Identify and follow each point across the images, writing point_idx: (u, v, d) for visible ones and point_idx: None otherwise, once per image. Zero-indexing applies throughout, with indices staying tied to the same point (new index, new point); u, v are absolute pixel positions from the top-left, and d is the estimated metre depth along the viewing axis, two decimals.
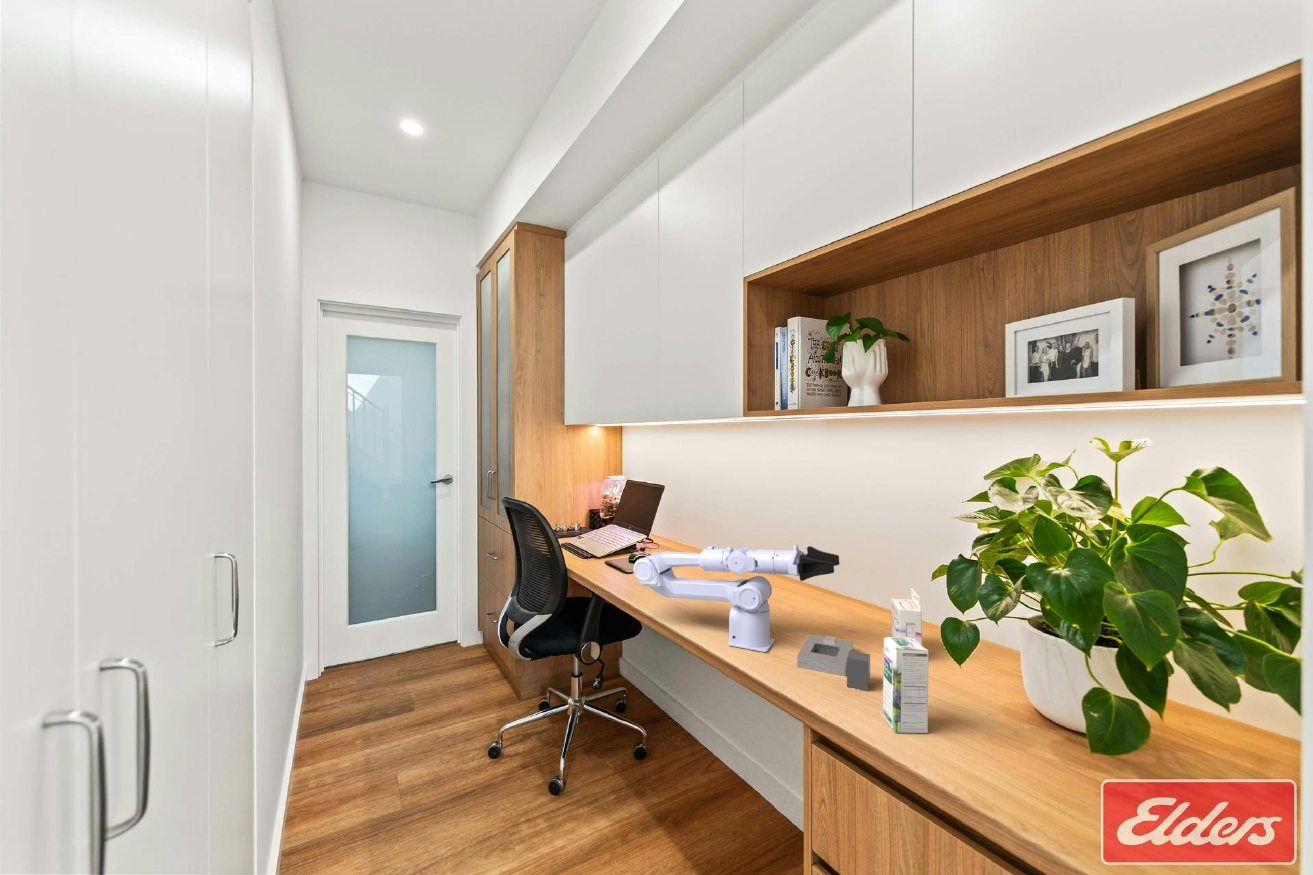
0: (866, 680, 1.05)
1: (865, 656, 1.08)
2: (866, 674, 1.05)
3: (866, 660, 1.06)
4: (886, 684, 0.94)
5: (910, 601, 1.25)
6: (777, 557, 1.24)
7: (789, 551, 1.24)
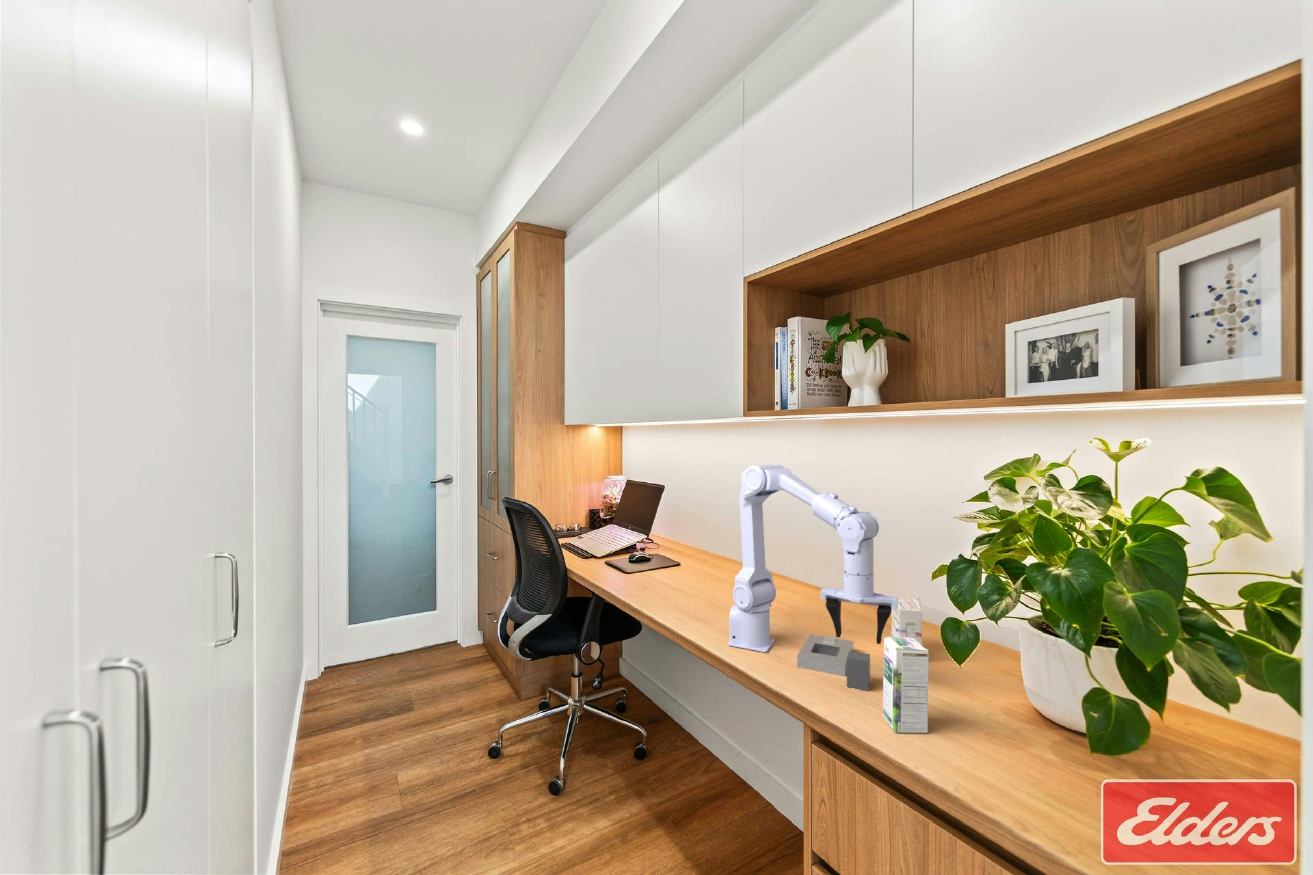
0: (866, 680, 1.05)
1: (865, 656, 1.08)
2: (866, 674, 1.05)
3: (866, 660, 1.06)
4: (886, 684, 0.94)
5: (910, 601, 1.25)
6: (845, 576, 1.08)
7: (853, 591, 1.06)
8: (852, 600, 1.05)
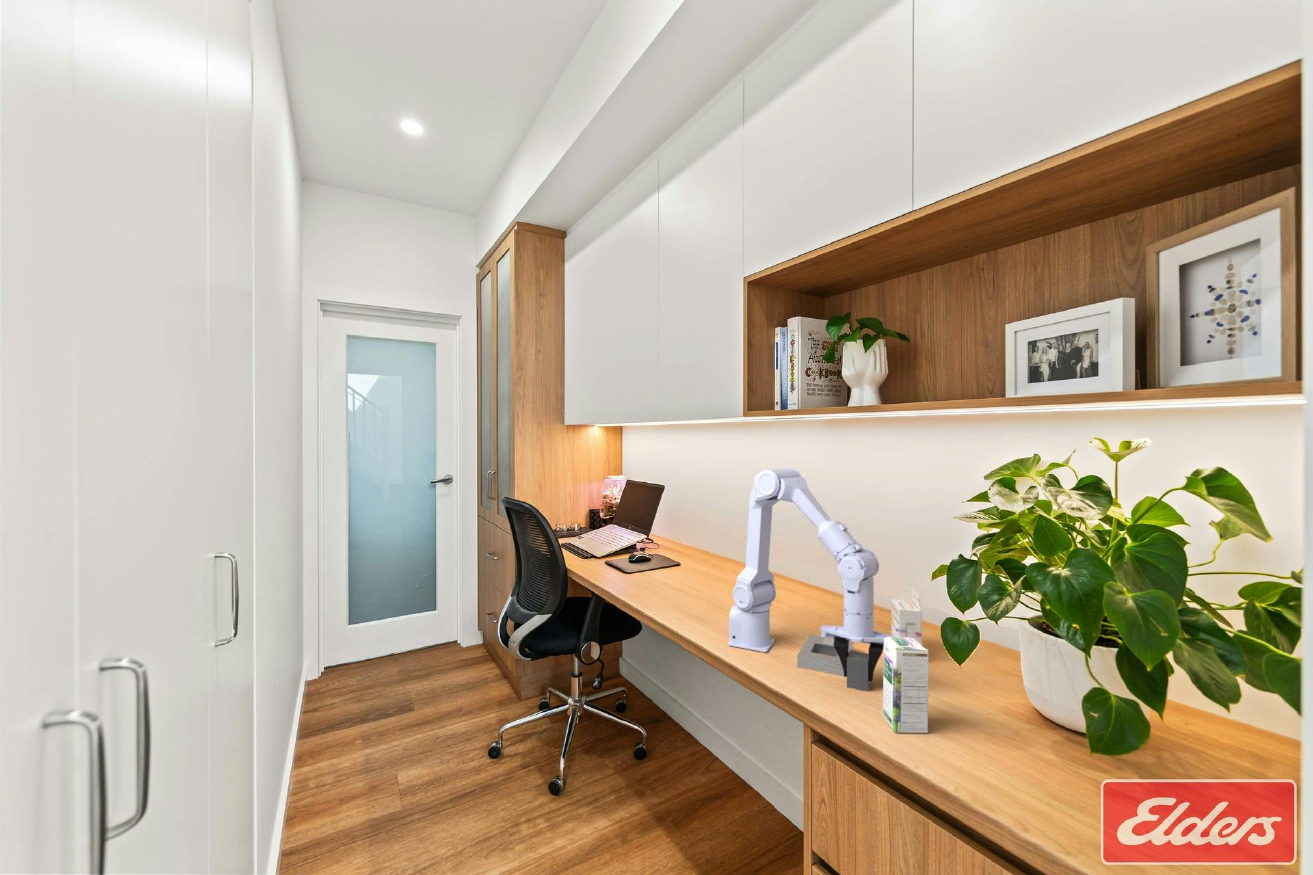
0: (866, 680, 1.05)
1: (865, 656, 1.08)
2: (866, 674, 1.05)
3: (866, 660, 1.06)
4: (886, 684, 0.94)
5: (910, 601, 1.25)
6: (845, 615, 1.08)
7: (853, 630, 1.06)
8: (852, 640, 1.05)
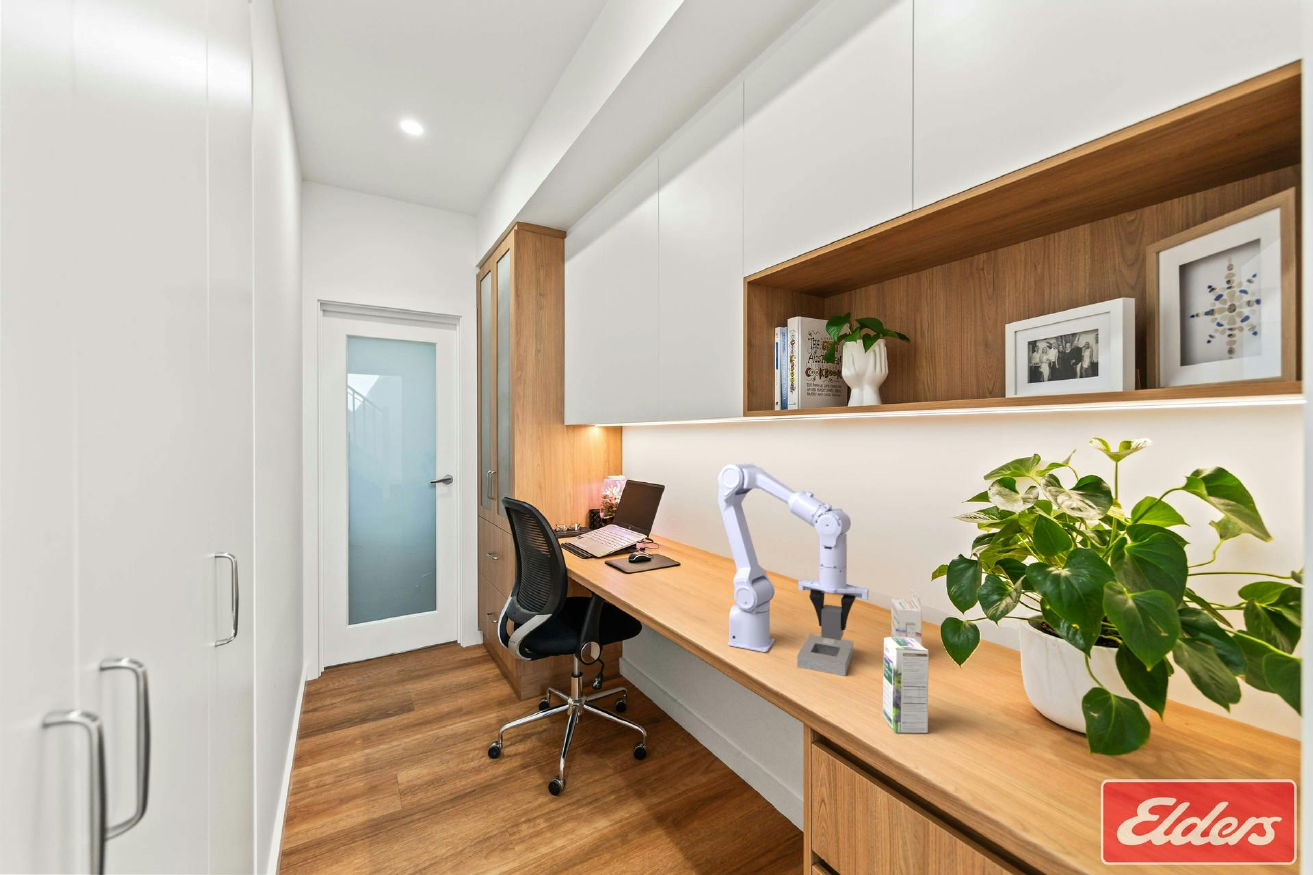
0: (839, 630, 1.14)
1: (839, 609, 1.16)
2: (839, 624, 1.14)
3: (839, 611, 1.14)
4: (886, 684, 0.94)
5: (910, 601, 1.25)
6: (820, 569, 1.16)
7: (827, 582, 1.15)
8: (826, 590, 1.13)
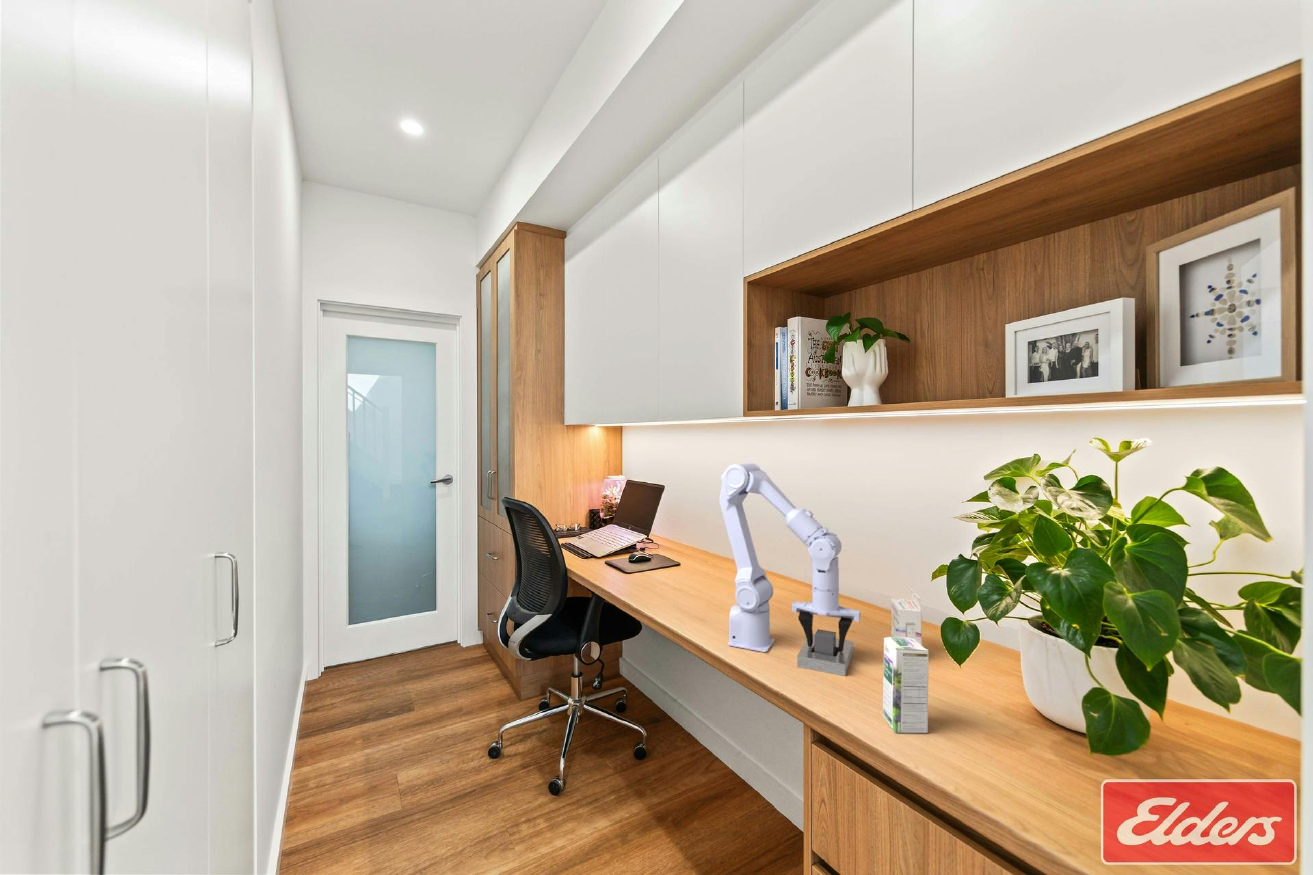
0: (831, 655, 1.17)
1: (831, 634, 1.19)
2: (831, 649, 1.17)
3: (831, 637, 1.17)
4: (886, 684, 0.94)
5: (910, 601, 1.25)
6: (813, 591, 1.19)
7: (819, 605, 1.18)
8: (819, 613, 1.16)
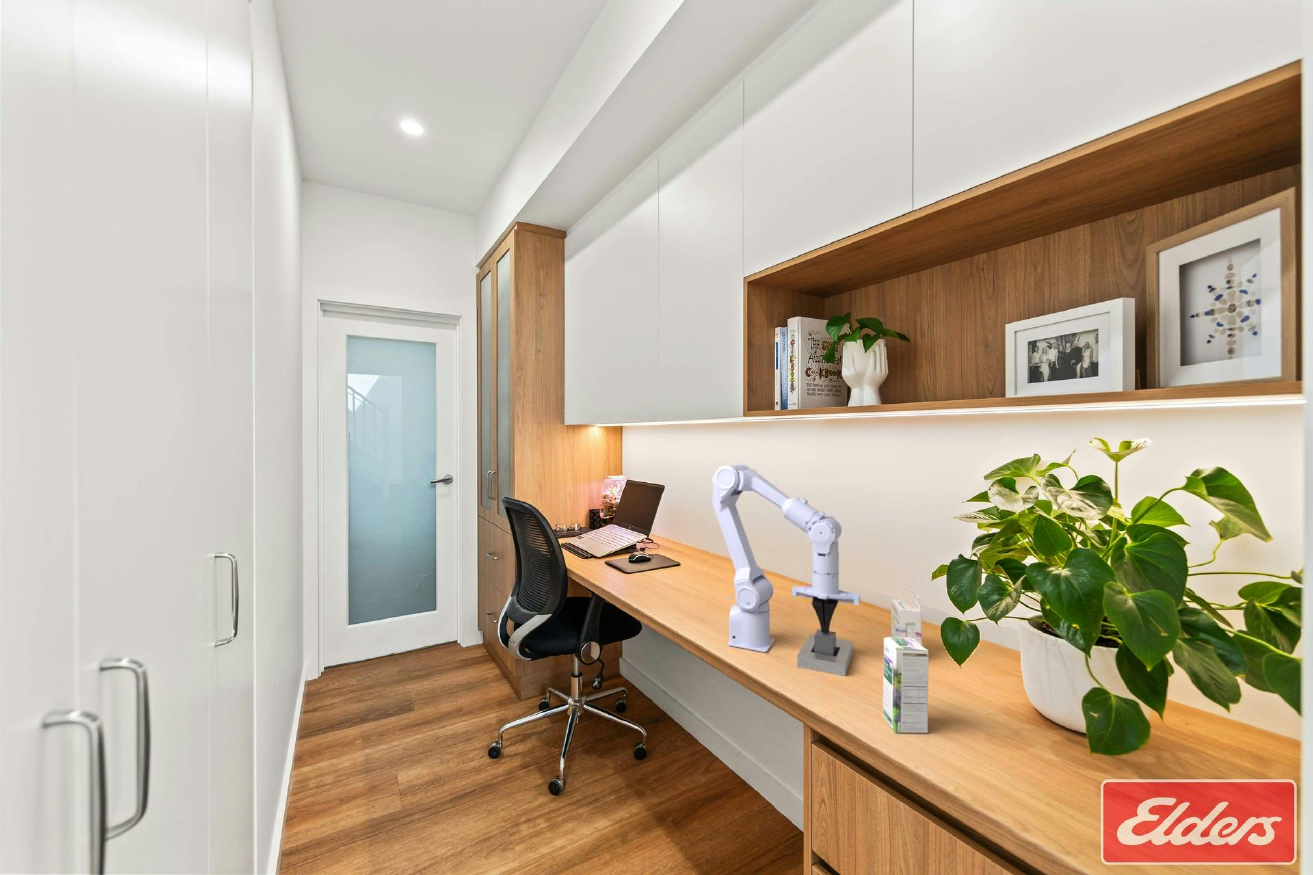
0: (831, 655, 1.17)
1: (831, 634, 1.19)
2: (831, 649, 1.17)
3: (831, 637, 1.17)
4: (886, 684, 0.94)
5: (910, 601, 1.25)
6: (813, 575, 1.19)
7: (819, 588, 1.18)
8: (819, 596, 1.16)
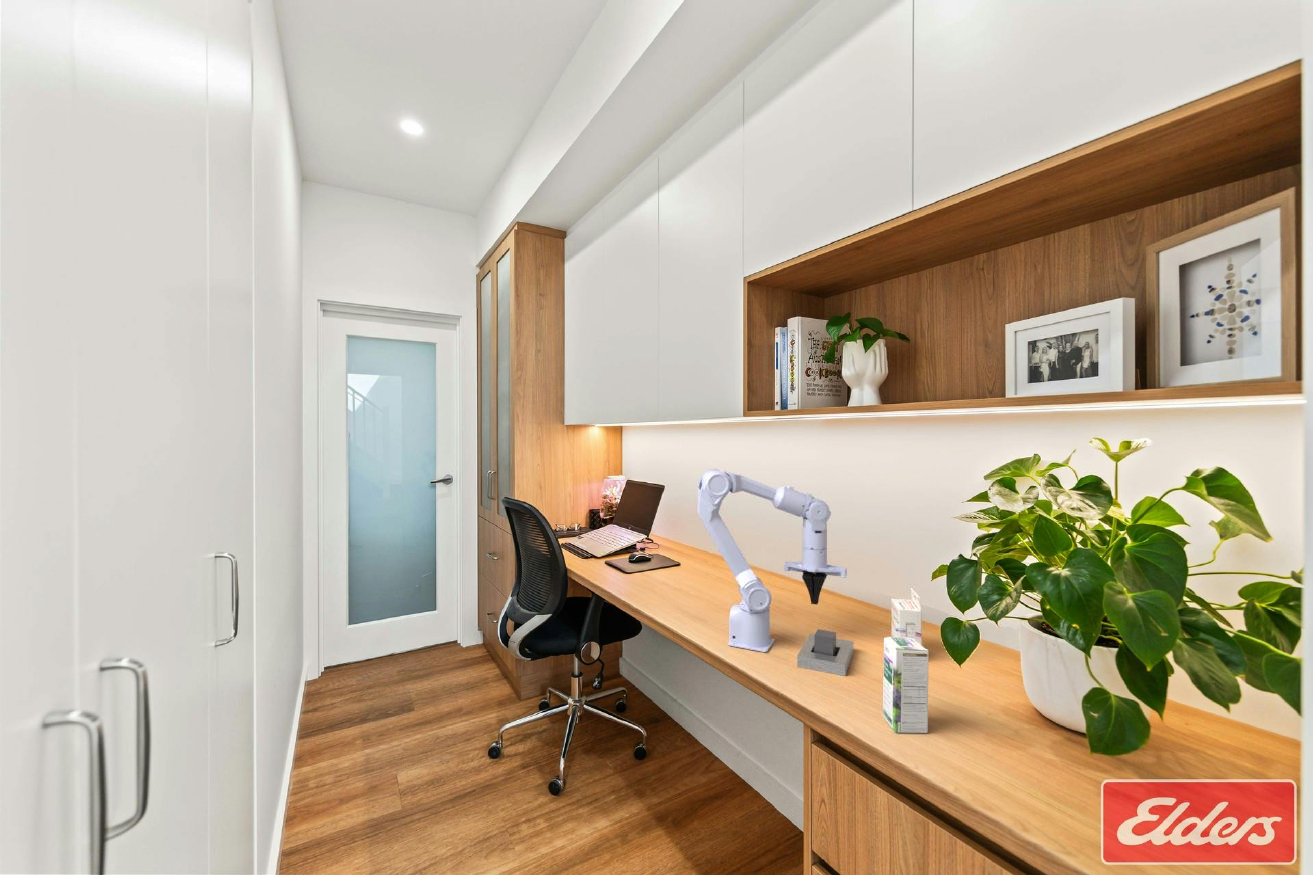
0: (831, 655, 1.17)
1: (831, 634, 1.19)
2: (831, 649, 1.17)
3: (831, 637, 1.17)
4: (886, 684, 0.94)
5: (910, 601, 1.25)
6: (803, 551, 1.29)
7: (809, 563, 1.27)
8: (808, 570, 1.26)
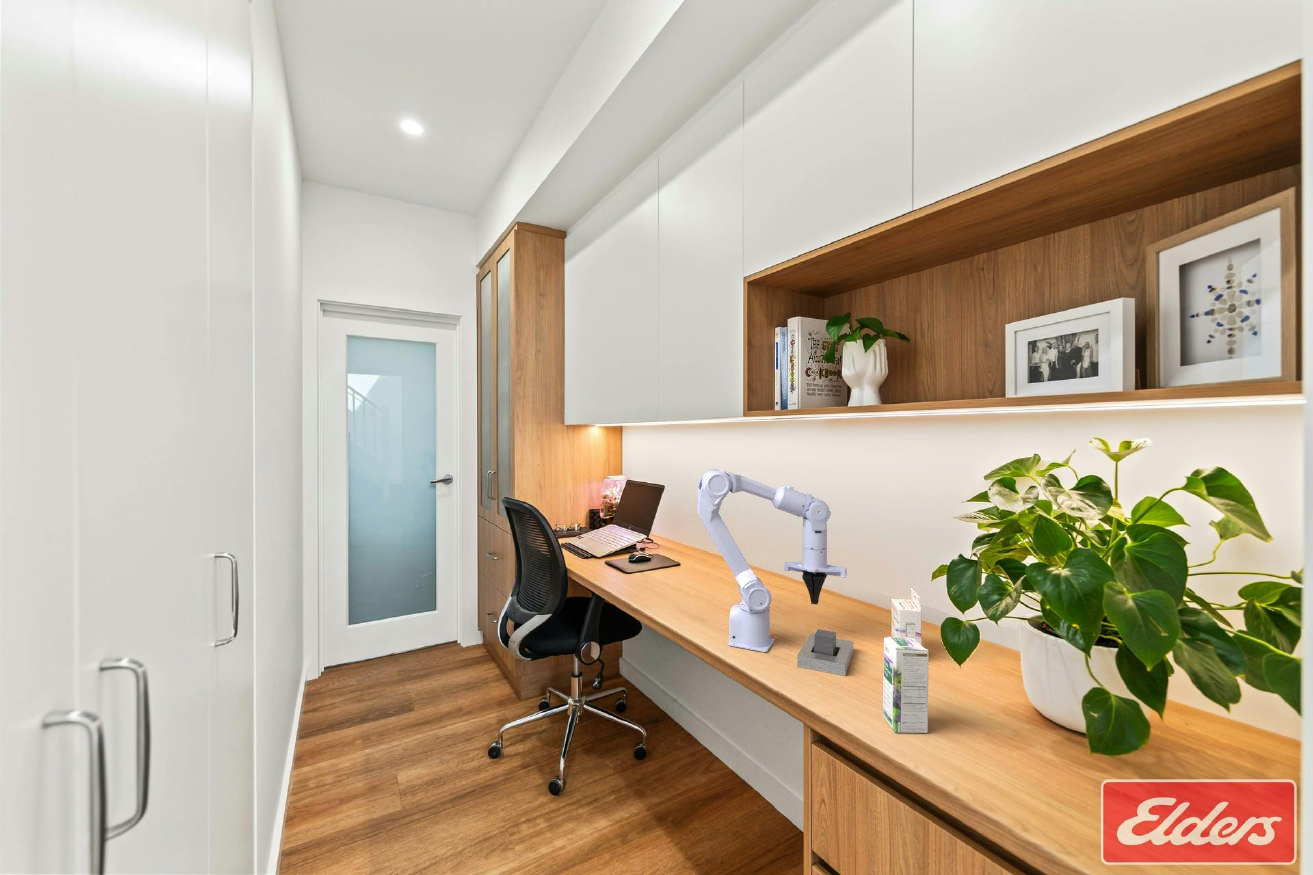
0: (831, 655, 1.17)
1: (831, 634, 1.19)
2: (831, 649, 1.17)
3: (831, 637, 1.17)
4: (886, 684, 0.94)
5: (910, 601, 1.25)
6: (803, 551, 1.29)
7: (809, 563, 1.27)
8: (808, 570, 1.26)
